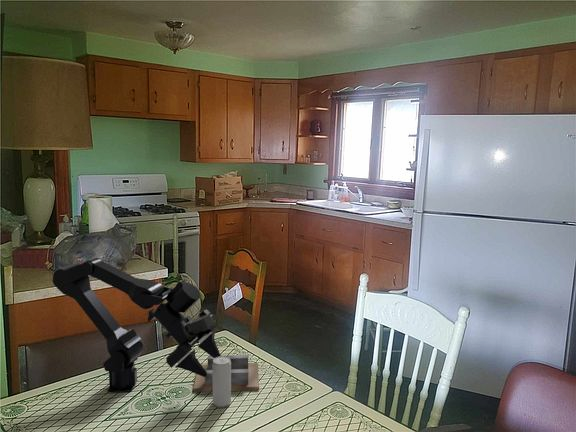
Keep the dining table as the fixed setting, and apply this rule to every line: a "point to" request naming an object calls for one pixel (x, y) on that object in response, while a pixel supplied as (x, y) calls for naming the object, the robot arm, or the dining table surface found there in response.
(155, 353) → the dining table surface
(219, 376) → the beverage can
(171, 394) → the dining table surface
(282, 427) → the dining table surface
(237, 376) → the vise
